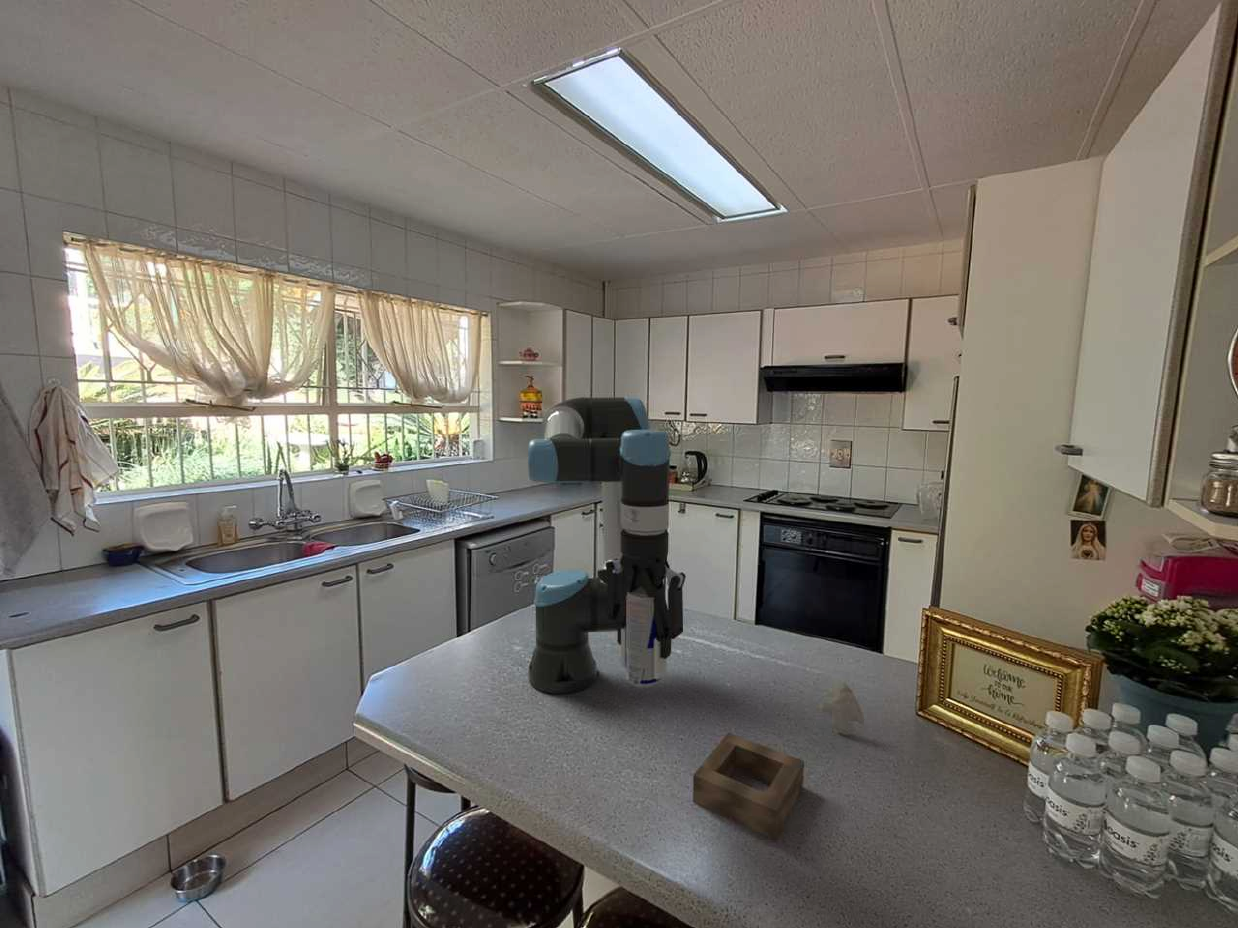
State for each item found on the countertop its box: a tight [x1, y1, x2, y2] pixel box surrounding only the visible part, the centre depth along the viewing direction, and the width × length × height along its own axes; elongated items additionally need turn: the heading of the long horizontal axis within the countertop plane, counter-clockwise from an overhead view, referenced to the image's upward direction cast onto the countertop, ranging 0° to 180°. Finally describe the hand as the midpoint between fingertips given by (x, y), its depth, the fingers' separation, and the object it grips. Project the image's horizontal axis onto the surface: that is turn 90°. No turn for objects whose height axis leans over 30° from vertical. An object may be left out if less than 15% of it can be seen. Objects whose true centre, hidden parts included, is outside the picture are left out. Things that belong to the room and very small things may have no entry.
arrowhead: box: [819, 680, 865, 737], centre depth 102 cm, size 8×3×10 cm, turn 54°
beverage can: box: [625, 587, 662, 688], centre depth 88 cm, size 6×6×15 cm
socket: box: [692, 732, 805, 841], centre depth 86 cm, size 13×13×4 cm
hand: (643, 669), depth 88 cm, fingers closed on beverage can, 5 cm apart
